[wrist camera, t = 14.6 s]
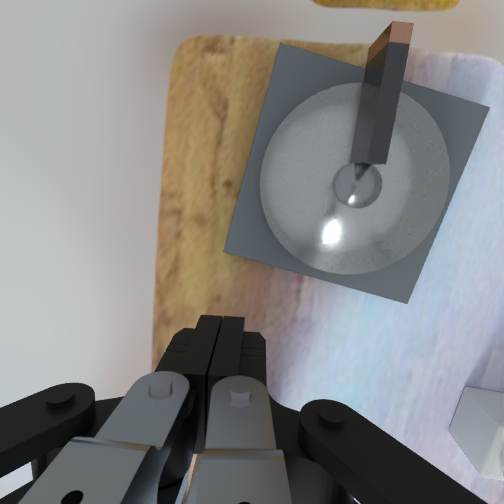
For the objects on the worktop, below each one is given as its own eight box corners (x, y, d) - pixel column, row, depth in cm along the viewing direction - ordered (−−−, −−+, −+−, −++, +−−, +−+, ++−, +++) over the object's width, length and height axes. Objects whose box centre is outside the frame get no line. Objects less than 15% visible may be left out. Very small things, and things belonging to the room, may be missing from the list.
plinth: (400, 297, 42) (408, 304, 39) (225, 247, 41) (223, 252, 39) (477, 110, 37) (491, 107, 34) (279, 49, 36) (280, 42, 34)
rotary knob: (419, 279, 38) (456, 305, 31) (250, 260, 38) (247, 281, 31) (470, 65, 33) (528, 36, 26) (275, 43, 33) (278, 8, 26)
